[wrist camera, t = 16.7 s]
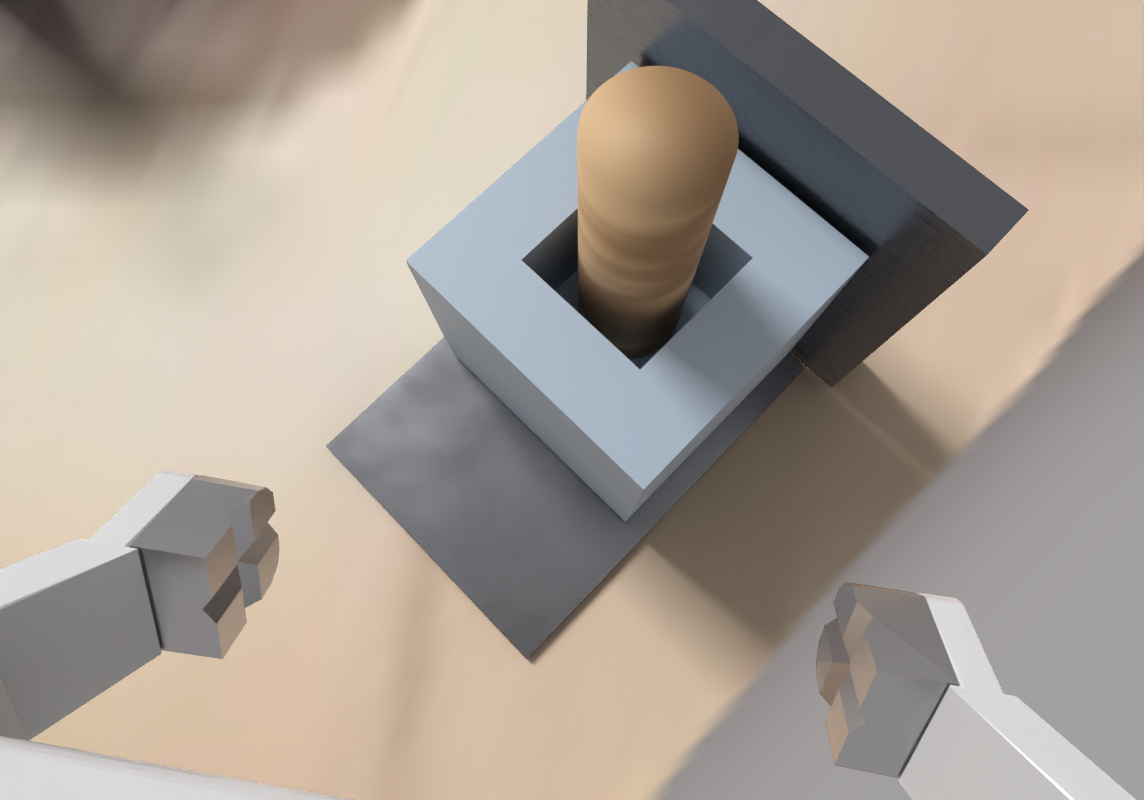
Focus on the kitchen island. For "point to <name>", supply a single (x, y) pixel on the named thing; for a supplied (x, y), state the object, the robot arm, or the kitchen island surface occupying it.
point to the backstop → (830, 348)
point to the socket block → (591, 362)
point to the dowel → (647, 199)
